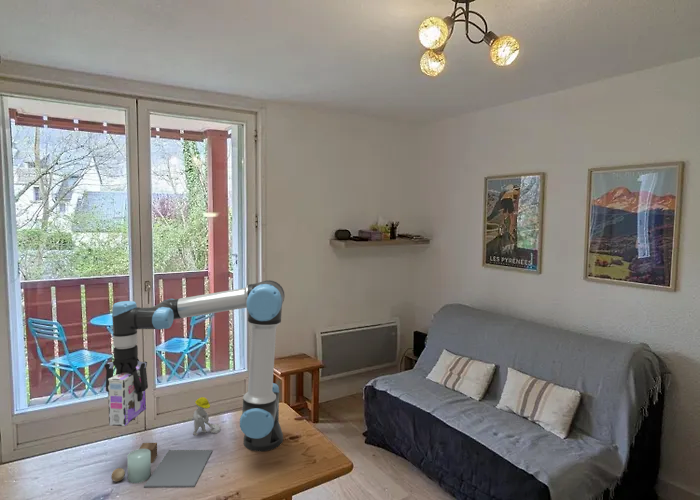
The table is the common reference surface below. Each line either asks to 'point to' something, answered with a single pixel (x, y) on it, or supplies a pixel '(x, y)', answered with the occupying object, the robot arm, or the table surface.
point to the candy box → (123, 399)
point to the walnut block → (151, 447)
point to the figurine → (200, 420)
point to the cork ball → (118, 474)
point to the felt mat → (179, 469)
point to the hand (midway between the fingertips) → (127, 409)
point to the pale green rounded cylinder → (139, 465)
